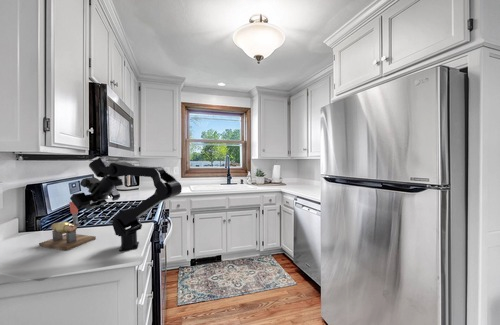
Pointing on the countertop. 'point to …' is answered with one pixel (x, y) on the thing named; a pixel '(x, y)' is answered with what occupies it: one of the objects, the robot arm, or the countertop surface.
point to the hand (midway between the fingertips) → (87, 209)
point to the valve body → (64, 231)
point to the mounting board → (66, 246)
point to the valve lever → (74, 213)
